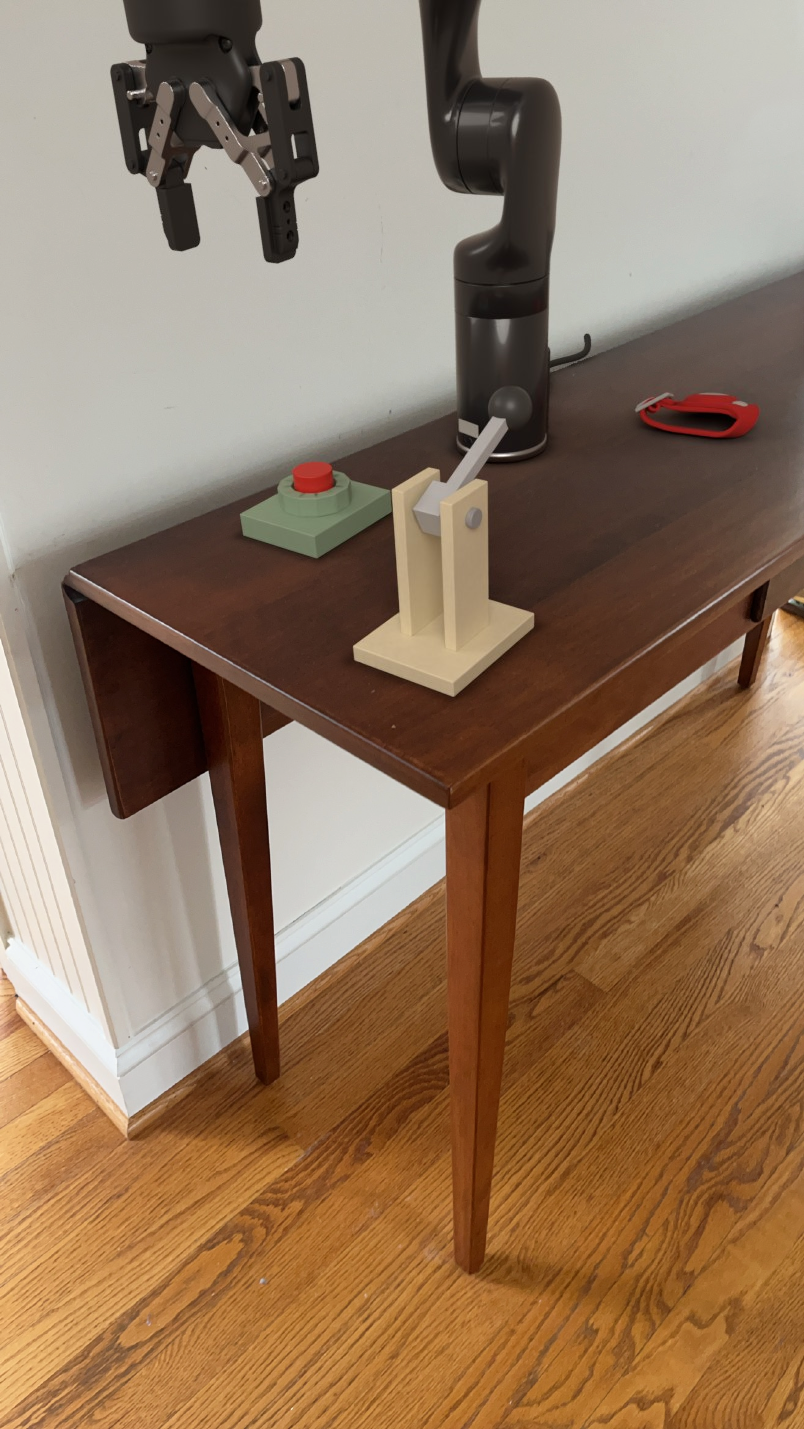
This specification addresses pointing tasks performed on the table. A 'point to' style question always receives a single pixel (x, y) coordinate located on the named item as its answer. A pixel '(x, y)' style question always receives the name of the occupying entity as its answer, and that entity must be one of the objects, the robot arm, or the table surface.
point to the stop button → (313, 477)
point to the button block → (316, 515)
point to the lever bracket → (443, 595)
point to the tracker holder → (702, 403)
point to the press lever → (476, 453)
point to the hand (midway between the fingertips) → (231, 254)
